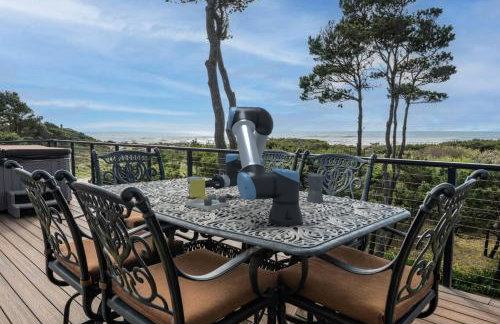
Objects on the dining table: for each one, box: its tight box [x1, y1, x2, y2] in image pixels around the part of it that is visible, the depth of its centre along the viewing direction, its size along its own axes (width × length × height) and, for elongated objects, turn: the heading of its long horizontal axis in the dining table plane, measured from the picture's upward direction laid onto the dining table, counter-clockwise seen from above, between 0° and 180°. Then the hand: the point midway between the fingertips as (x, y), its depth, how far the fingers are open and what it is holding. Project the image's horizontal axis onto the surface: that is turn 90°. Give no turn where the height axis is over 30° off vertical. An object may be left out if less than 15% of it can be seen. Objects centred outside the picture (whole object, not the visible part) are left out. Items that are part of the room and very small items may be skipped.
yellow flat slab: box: [189, 178, 218, 200], centre depth 189 cm, size 14×5×12 cm, turn 117°
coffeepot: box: [299, 169, 328, 204], centre depth 203 cm, size 15×9×18 cm, turn 79°
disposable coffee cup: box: [186, 176, 203, 199], centre depth 214 cm, size 10×10×12 cm
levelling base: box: [184, 195, 230, 211], centre depth 191 cm, size 18×15×5 cm
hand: (188, 186), depth 187 cm, fingers closed
